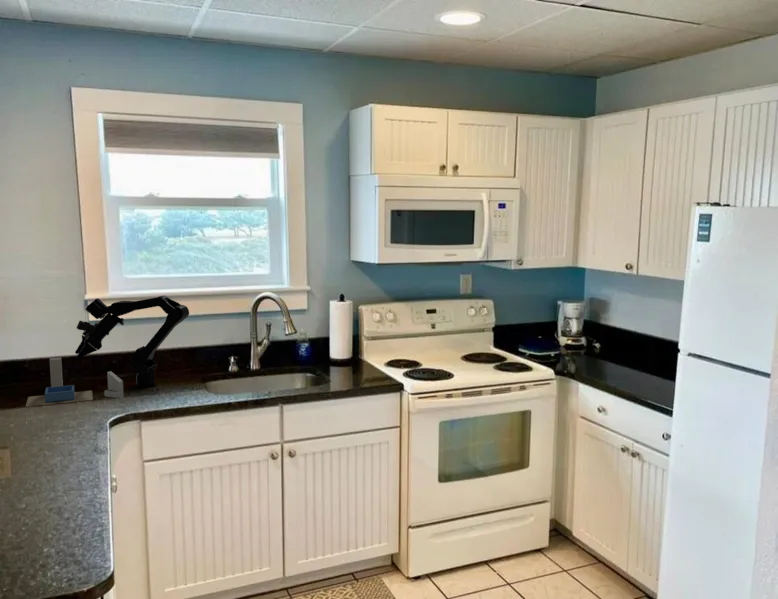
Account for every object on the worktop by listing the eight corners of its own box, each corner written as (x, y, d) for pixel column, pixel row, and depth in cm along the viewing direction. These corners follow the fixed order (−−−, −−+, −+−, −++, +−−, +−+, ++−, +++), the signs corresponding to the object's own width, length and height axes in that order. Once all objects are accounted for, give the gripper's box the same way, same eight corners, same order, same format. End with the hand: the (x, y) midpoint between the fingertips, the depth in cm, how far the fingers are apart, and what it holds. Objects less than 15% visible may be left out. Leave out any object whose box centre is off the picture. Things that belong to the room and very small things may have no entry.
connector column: (63, 388, 259) (61, 357, 258) (62, 391, 256) (61, 359, 254) (51, 390, 257) (50, 358, 256) (51, 392, 254) (49, 360, 252)
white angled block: (103, 388, 250) (110, 371, 248) (121, 403, 248) (128, 386, 245) (95, 391, 247) (103, 373, 245) (113, 406, 244) (121, 388, 242)
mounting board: (92, 393, 253) (92, 390, 253) (92, 402, 241) (92, 399, 241) (28, 399, 244) (28, 396, 244) (25, 409, 231) (25, 406, 231)
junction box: (74, 393, 249) (74, 384, 248) (74, 400, 240) (73, 390, 240) (46, 396, 245) (46, 387, 244) (45, 403, 236) (44, 393, 236)
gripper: (87, 310, 267) (58, 339, 263) (91, 316, 251) (61, 346, 247) (108, 327, 272) (81, 355, 268) (113, 334, 256) (84, 364, 252)
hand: (76, 355), depth 259 cm, fingers open, 9 cm apart
